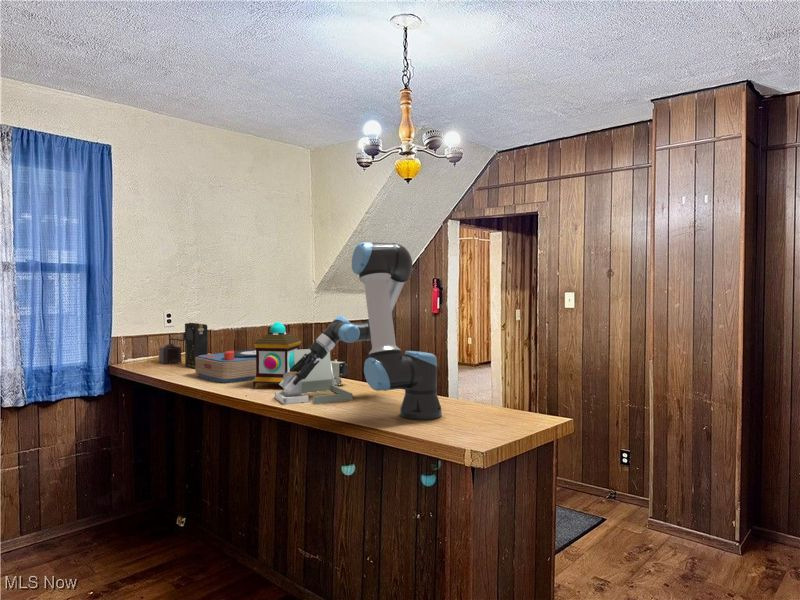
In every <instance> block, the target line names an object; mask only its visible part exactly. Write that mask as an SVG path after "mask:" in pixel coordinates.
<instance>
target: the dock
mask: <svg viewBox="0 0 800 600" xmlns="http://www.w3.org/2000/svg"><path fill="white" fill-rule="evenodd" d="M274 399H276V400H277V401H278V402H280V403H281V404H283V405H285V406H286V405H292V404H293V403H295V404H302V403H301V402H304V403H309V395H302V396H297V397H287V398H286V397H284V390H283V391H282V390H281V391H275V392H274Z"/></svg>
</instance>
